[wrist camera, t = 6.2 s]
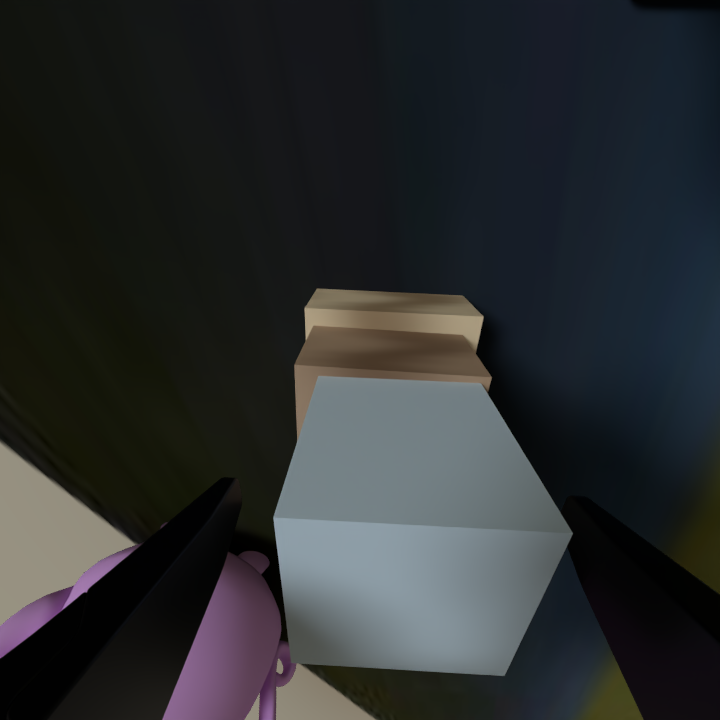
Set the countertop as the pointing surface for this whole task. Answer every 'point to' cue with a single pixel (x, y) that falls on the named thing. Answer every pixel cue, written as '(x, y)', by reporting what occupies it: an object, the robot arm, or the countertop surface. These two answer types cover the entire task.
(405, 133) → the countertop surface
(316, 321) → the oak base slab
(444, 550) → the pale blue cube
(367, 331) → the walnut mid slab
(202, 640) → the teapot
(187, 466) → the countertop surface
